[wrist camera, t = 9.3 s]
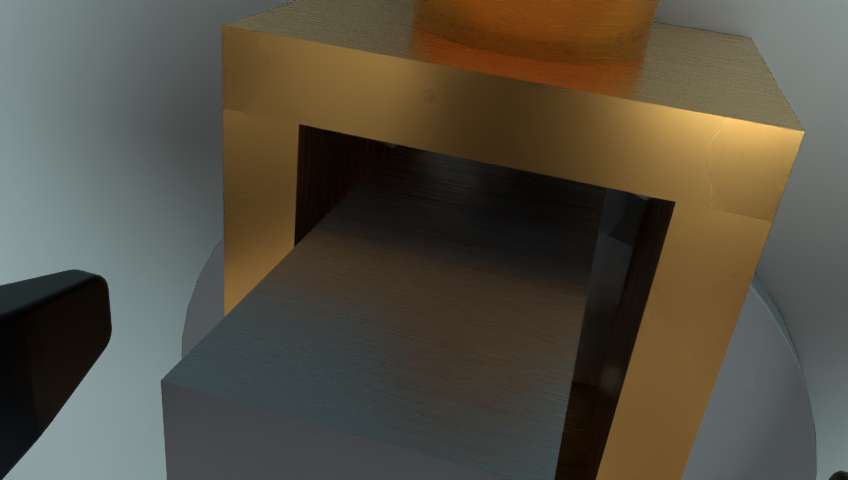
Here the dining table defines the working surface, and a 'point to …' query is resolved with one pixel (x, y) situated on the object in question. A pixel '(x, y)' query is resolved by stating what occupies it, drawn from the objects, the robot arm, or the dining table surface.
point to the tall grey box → (400, 335)
